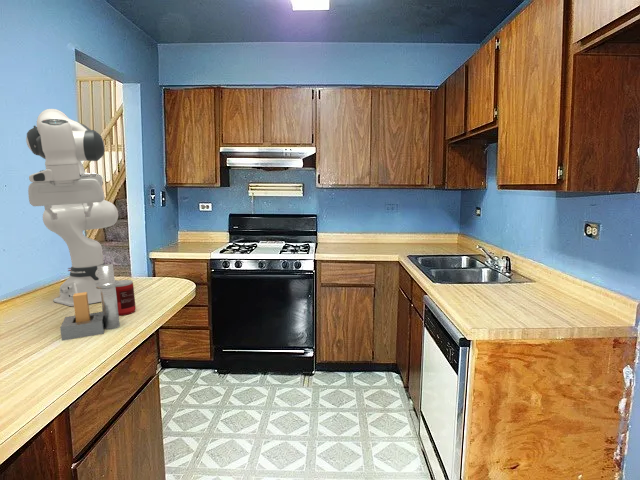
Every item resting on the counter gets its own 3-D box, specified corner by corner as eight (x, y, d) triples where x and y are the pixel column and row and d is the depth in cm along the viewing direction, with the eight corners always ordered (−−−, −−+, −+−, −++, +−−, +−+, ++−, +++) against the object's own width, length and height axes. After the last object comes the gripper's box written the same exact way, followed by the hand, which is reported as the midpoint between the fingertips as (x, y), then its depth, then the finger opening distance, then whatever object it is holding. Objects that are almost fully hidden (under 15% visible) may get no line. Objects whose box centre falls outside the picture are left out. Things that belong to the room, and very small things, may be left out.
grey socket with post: (61, 340, 124) (53, 274, 121) (67, 329, 134) (58, 267, 131) (122, 330, 131) (115, 267, 128) (123, 320, 141) (116, 261, 138)
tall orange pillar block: (77, 334, 129) (72, 296, 127) (79, 330, 132) (74, 293, 130) (90, 332, 130) (85, 294, 129) (91, 328, 134) (87, 291, 132)
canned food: (116, 310, 153) (113, 280, 151) (139, 308, 153) (136, 279, 152) (107, 316, 145) (104, 285, 144) (131, 315, 146) (128, 284, 144)
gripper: (102, 171, 135) (109, 213, 138) (29, 174, 129) (37, 219, 132) (99, 173, 129) (106, 217, 133) (22, 176, 123) (31, 222, 126)
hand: (71, 218), depth 132 cm, fingers open, 8 cm apart
